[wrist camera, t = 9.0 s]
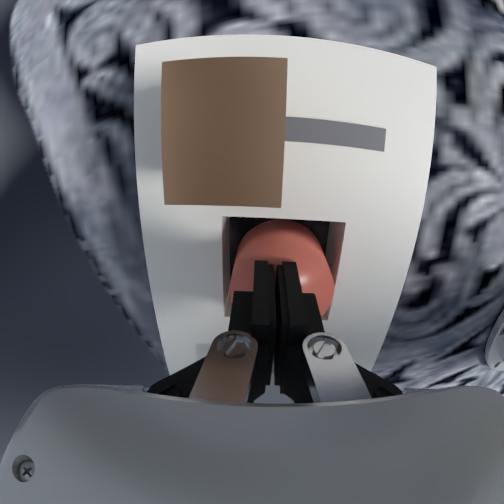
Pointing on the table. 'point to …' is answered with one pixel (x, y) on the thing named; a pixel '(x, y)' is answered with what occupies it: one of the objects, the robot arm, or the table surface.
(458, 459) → the robot arm
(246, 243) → the red button
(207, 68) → the walnut slider
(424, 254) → the table surface
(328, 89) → the control panel
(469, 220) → the table surface
